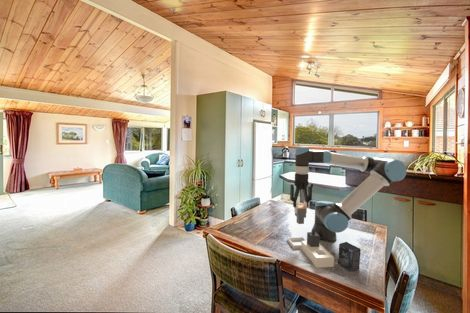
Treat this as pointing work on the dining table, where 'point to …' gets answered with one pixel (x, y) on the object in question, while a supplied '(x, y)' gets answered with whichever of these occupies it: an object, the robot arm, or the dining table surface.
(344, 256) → the box
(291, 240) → the tray
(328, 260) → the beige socket block
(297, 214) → the plug
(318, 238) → the twin plug
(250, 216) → the dining table surface
